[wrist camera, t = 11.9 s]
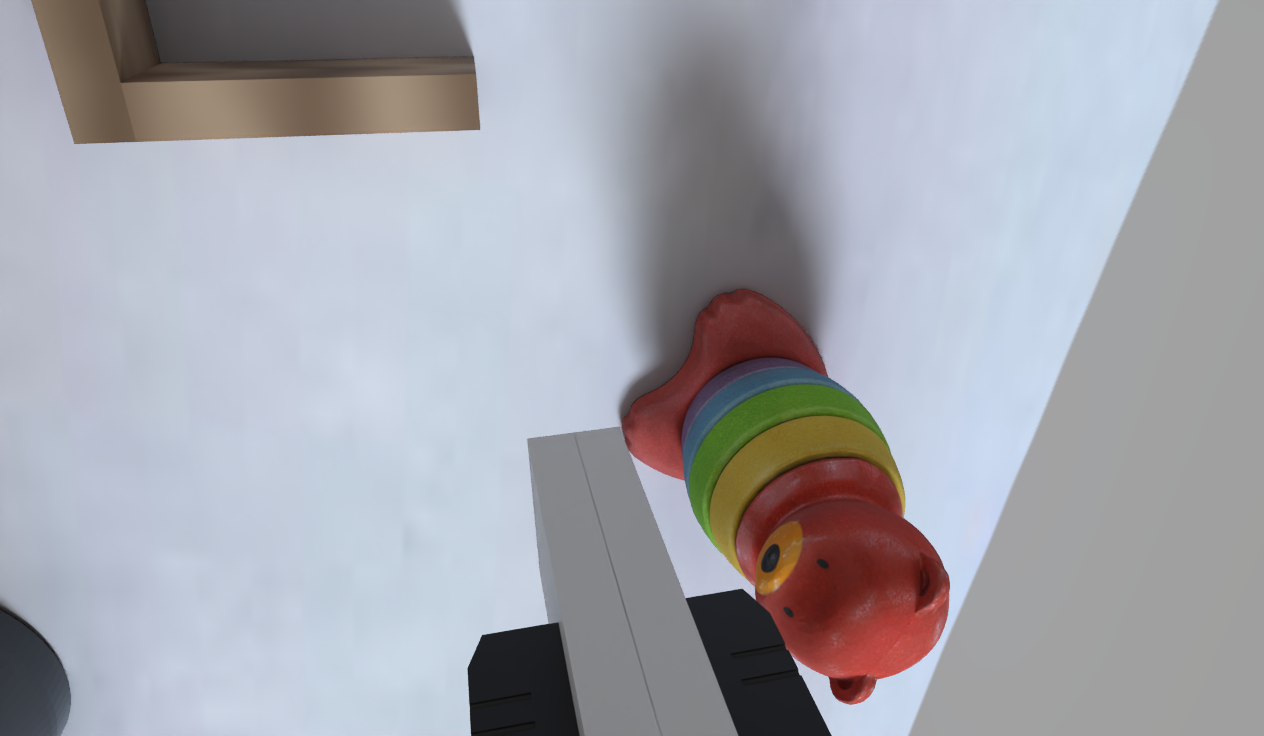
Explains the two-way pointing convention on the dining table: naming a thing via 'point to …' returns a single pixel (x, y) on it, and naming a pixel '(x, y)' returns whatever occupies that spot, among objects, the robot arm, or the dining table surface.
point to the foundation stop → (235, 86)
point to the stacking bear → (796, 494)
